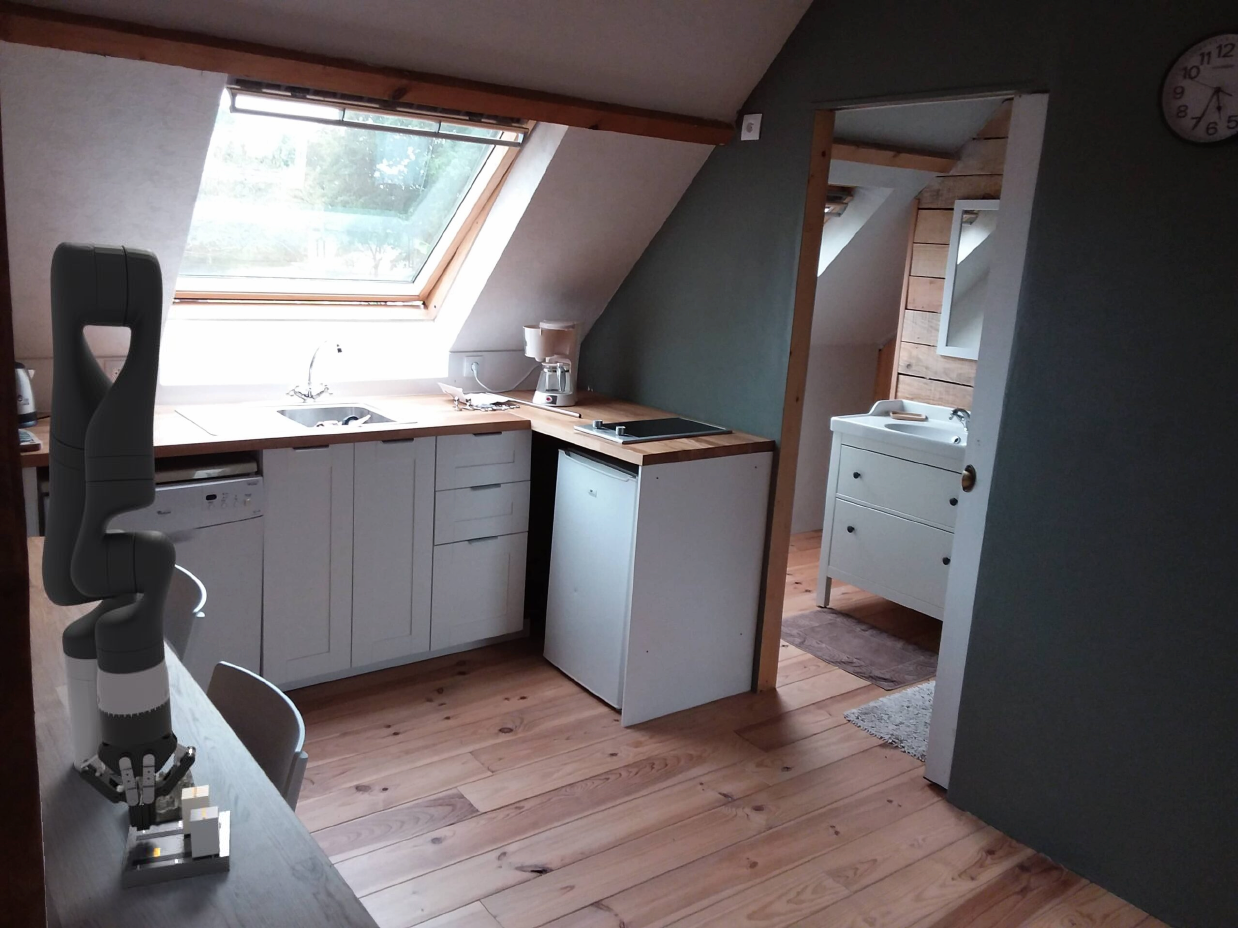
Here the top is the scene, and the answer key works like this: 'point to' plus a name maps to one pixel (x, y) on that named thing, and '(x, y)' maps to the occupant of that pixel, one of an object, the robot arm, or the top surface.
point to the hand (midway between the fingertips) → (144, 826)
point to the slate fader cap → (205, 831)
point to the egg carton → (171, 797)
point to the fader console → (170, 853)
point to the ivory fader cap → (193, 803)
